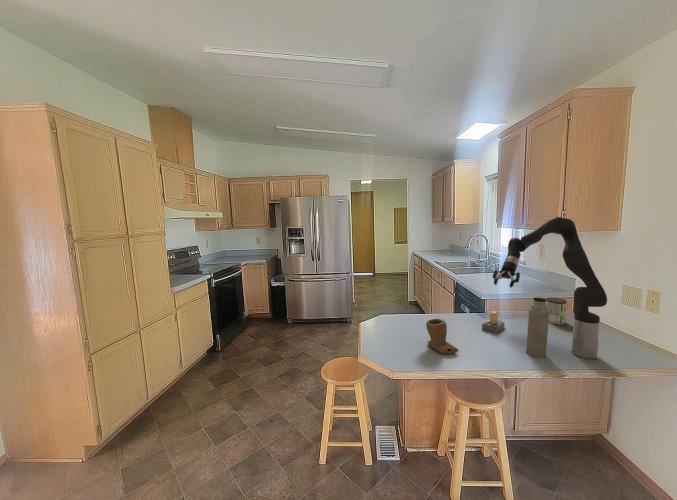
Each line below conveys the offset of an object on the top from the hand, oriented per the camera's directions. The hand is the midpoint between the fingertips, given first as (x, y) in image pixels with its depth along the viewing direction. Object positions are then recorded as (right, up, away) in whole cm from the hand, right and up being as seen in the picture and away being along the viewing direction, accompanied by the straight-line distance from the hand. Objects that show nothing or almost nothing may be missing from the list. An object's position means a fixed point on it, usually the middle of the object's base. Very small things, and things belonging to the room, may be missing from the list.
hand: (502, 285), depth 175 cm
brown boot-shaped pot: (-48, -29, -28) cm, 63 cm away
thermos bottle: (-4, -29, -35) cm, 46 cm away
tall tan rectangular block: (-9, -25, -5) cm, 27 cm away
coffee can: (+37, -24, +7) cm, 44 cm away
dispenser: (-9, -26, -5) cm, 28 cm away
